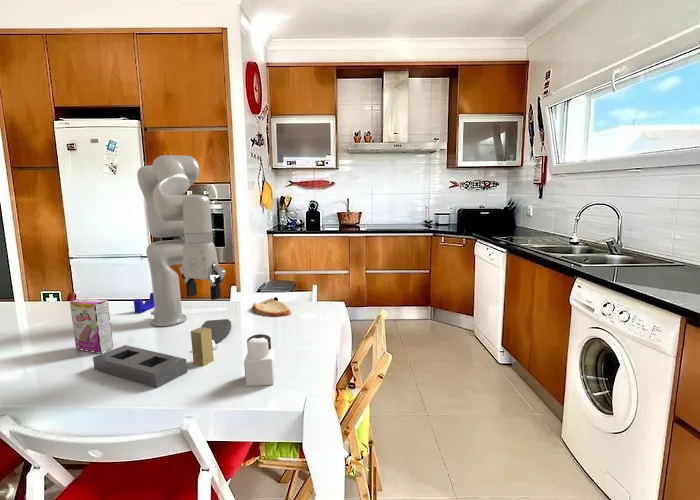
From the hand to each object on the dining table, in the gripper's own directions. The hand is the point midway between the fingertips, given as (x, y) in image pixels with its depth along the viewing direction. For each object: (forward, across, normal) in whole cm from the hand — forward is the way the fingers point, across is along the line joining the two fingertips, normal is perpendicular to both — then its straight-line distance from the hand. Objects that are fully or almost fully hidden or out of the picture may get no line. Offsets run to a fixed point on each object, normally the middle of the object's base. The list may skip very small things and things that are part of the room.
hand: (203, 297), depth 121 cm
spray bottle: (+20, -14, +15) cm, 29 cm away
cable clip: (+19, -68, +28) cm, 76 cm away
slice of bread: (+20, -16, +49) cm, 55 cm away
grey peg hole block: (+19, -12, -14) cm, 27 cm away
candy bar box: (+19, -42, -9) cm, 47 cm away
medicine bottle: (+20, +22, -3) cm, 30 cm away
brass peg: (+20, -1, -2) cm, 20 cm away
